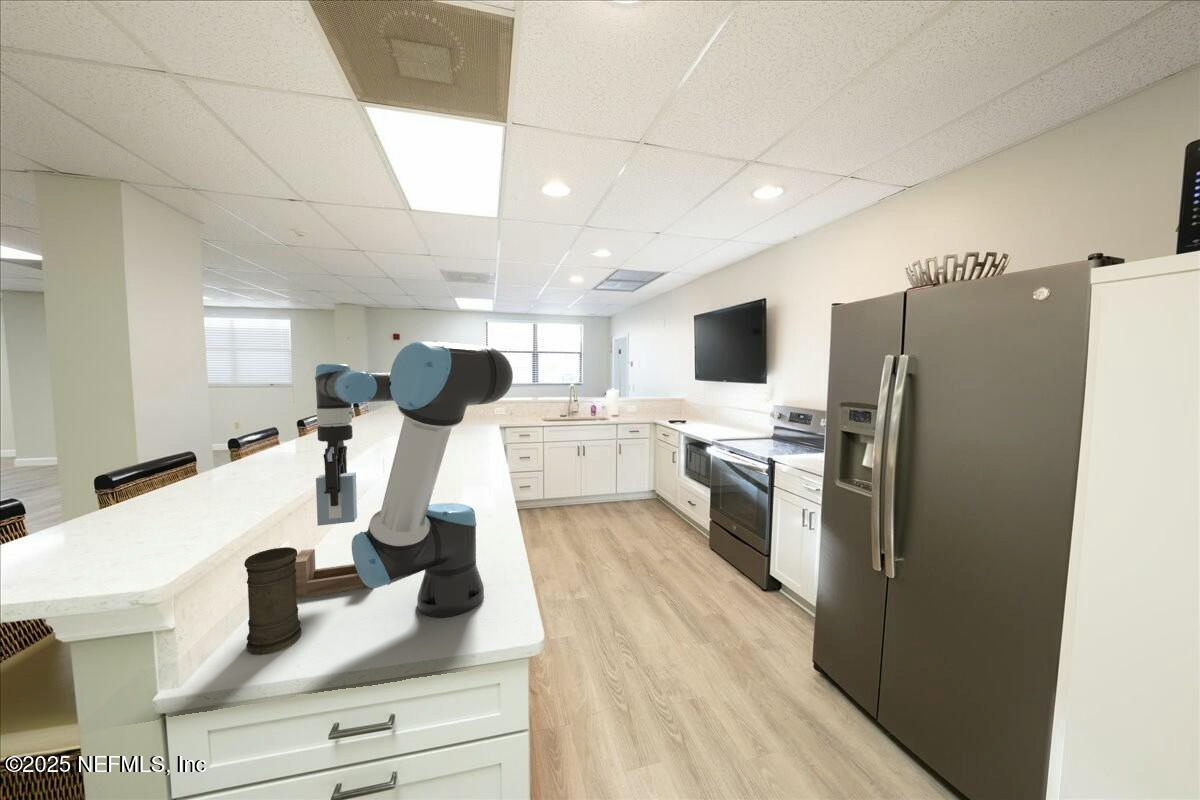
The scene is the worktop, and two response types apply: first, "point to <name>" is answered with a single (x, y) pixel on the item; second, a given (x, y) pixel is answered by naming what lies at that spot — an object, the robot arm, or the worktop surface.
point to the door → (347, 500)
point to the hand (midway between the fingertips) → (337, 514)
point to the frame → (323, 577)
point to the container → (272, 601)
